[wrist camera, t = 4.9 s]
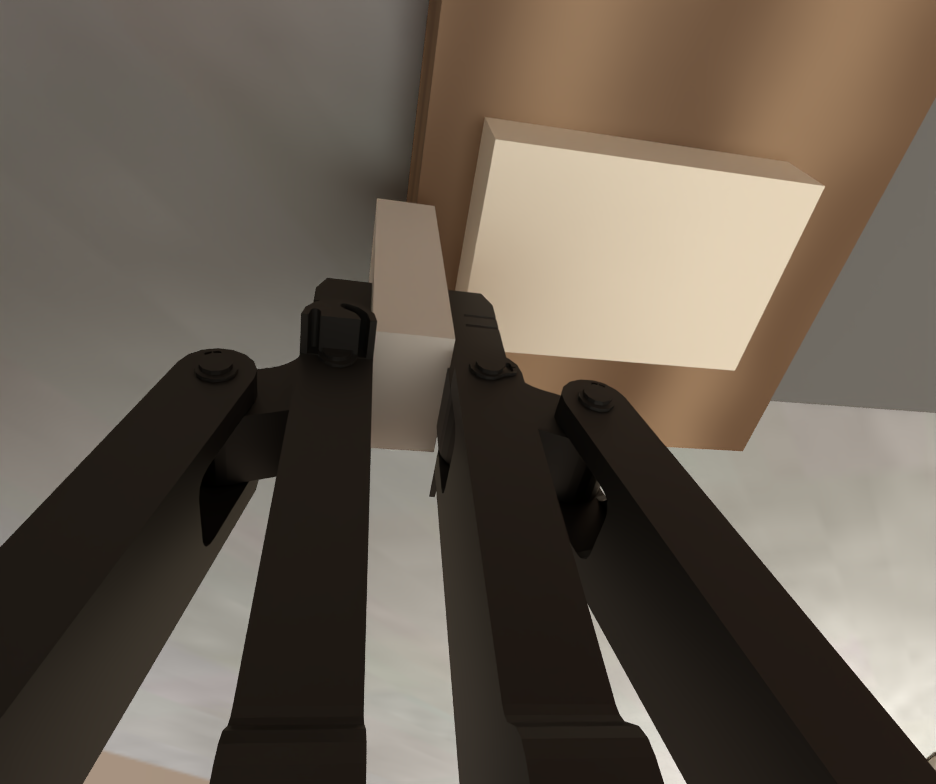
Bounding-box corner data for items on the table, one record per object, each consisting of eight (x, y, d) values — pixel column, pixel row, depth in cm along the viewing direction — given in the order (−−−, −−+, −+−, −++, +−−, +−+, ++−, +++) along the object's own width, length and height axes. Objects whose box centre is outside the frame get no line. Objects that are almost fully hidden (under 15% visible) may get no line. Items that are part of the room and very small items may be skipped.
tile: (450, 313, 21) (457, 348, 19) (484, 117, 17) (495, 138, 16) (709, 337, 23) (735, 370, 21) (788, 162, 19) (825, 186, 17)
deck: (387, 367, 27) (388, 431, 24) (443, -129, 17) (458, -135, 14) (703, 390, 29) (742, 451, 26) (899, -31, 20) (997, -17, 17)
